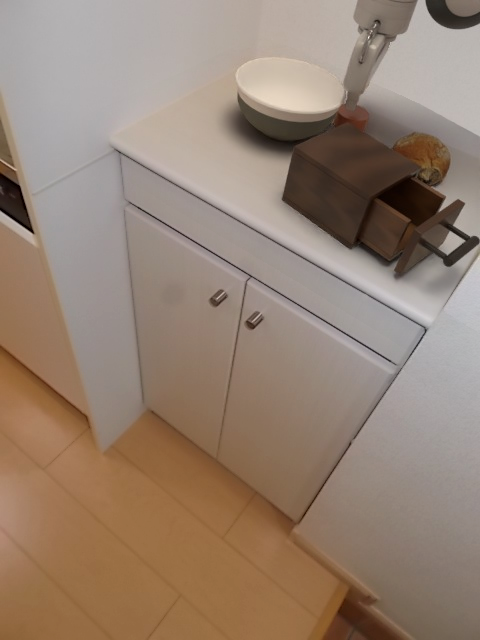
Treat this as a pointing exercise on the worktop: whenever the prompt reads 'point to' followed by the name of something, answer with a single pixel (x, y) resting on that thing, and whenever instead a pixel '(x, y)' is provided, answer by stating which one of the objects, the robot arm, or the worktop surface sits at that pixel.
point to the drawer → (413, 225)
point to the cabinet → (342, 179)
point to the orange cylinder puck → (352, 117)
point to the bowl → (288, 97)
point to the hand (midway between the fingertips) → (356, 97)
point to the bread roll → (425, 156)
